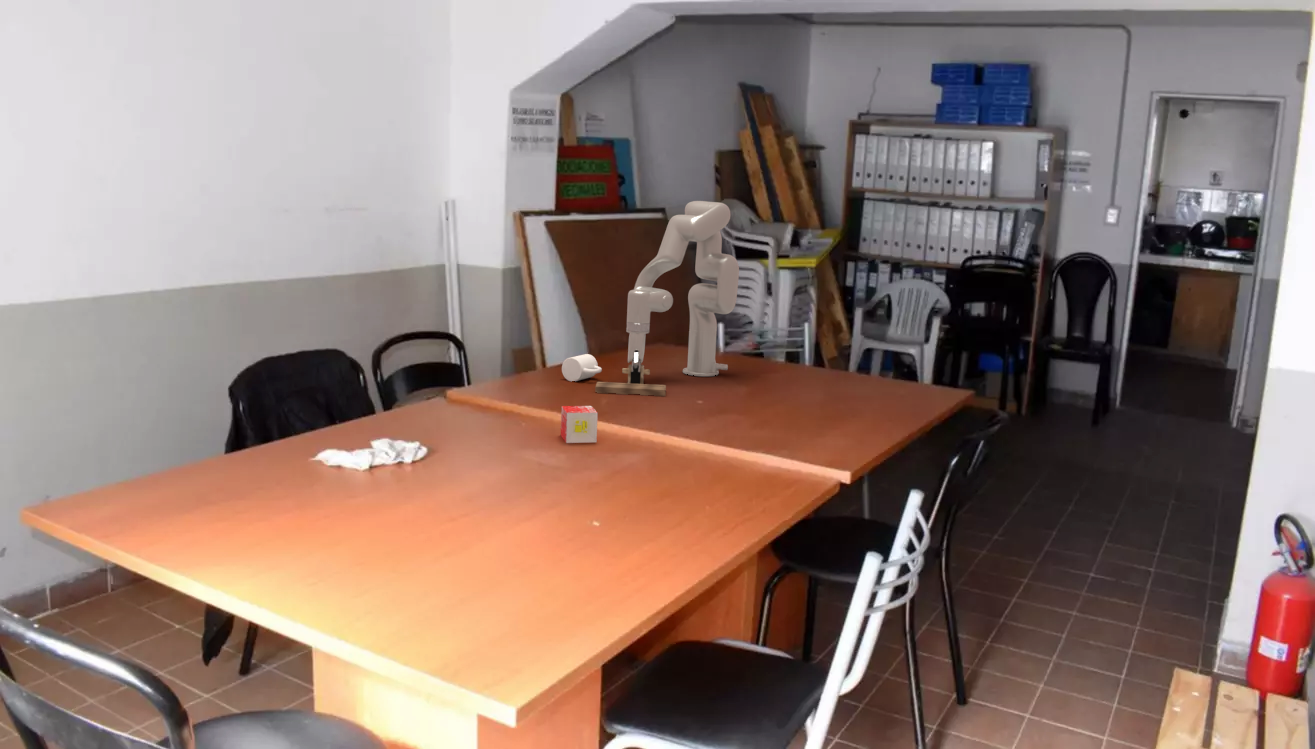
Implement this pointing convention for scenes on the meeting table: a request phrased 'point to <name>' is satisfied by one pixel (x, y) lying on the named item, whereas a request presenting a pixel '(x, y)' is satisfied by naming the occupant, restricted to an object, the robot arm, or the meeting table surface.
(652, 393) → the board
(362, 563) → the meeting table surface
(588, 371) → the mug
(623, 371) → the beige block with peg
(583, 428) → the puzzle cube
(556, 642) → the meeting table surface
